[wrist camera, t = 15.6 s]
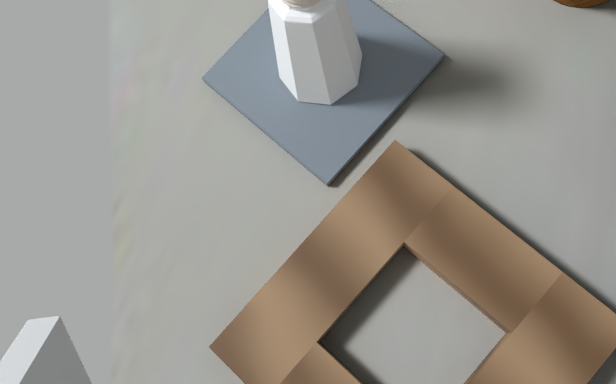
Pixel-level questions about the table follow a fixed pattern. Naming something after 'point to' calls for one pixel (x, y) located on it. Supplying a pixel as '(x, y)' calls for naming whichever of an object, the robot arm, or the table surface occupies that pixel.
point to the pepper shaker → (315, 48)
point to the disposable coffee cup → (582, 2)
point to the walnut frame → (440, 259)
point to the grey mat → (322, 117)
